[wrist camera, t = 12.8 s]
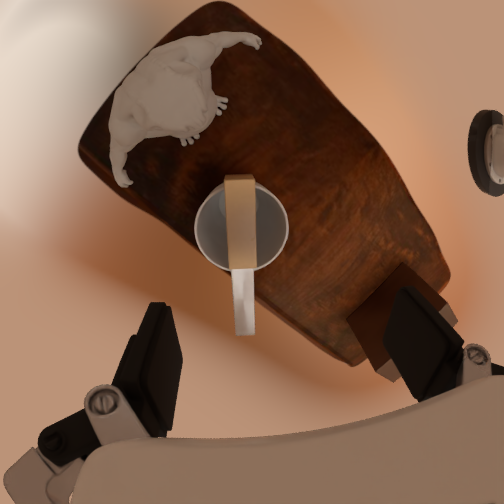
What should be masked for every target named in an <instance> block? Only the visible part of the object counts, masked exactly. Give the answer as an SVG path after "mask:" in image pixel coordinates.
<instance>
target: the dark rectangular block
mask: <svg viewBox="0 0 504 504" xmlns="http://www.w3.org/2000/svg"><path fill="white" fill-rule="evenodd" d="M404 286H414V287H415V288H416V289H417V290H418V291H419V292H420V293H421V294H422V295H423V296H424V297H425V298H426V299H427V300H428V301H429V302H430V303H431V304H432V305H433V307H434V308H435V309H436V310H437V311H438V312H439V313H440V314H441V315H442V316H443V317H444V318H445V320H446V321H447V322H448V323H449V324H450V325H451V326H452V327H454V326H455V324H456V323H457V322H458V320H457V318H456V316H455V315H454V313H453V311H452V309H451V308H450V306H449V304H448V303H447V302H446V301H445V300H444V299H443V298H442V297H441V296H440V295H439V294H438V293H437V292H436V291H435V290H434V289H433V288H432V287H431V286H429V285H428V284H427V283H426V282H425V281H424V280H423V279H422V278H421V277H420V276H418V275H417V274H416V273H415V272H414V271H413V270H412V269H410V268H409V267H408V266H407V265H406V264H405V263H404V262H402V264H401V265H400V266H399V267H398V268H397V269H396V270H395V271H394V272H393V273H392V274H391V275H390V276H389V278H388V279H387V280H386V281H385V282H384V283H383V284H382V285H381V286H380V287H379V288H378V289H377V290H376V291H375V292H374V293H373V294H372V295H371V296H370V297H369V298H368V299H367V300H366V301H365V302H364V303H363V304H362V305H361V306H360V307H359V308H358V309H357V310H356V311H355V312H353V313H352V314H351V315H350V316H349V317H348V318H347V319H346V320H347V322H348V323H349V325H350V327H351V329H352V330H353V332H354V334H355V336H356V337H357V339H358V341H359V343H360V345H361V346H362V348H363V350H364V352H365V354H366V356H367V357H368V359H369V361H370V363H371V365H372V367H373V368H374V370H375V372H376V373H378V374H380V375H381V376H383V377H385V378H387V379H389V380H390V381H392V382H395V381H396V380H397V379H399V378H400V377H401V374H400V373H399V371H398V369H397V367H396V366H395V364H394V362H393V361H392V359H391V357H390V355H389V354H388V352H387V350H386V349H385V347H384V345H383V342H382V339H383V335H384V332H385V329H386V326H387V323H388V320H389V316H390V313H391V310H392V306H393V303H394V299H395V296H396V293H397V291H399V289H400V288H401V287H404Z"/></svg>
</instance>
